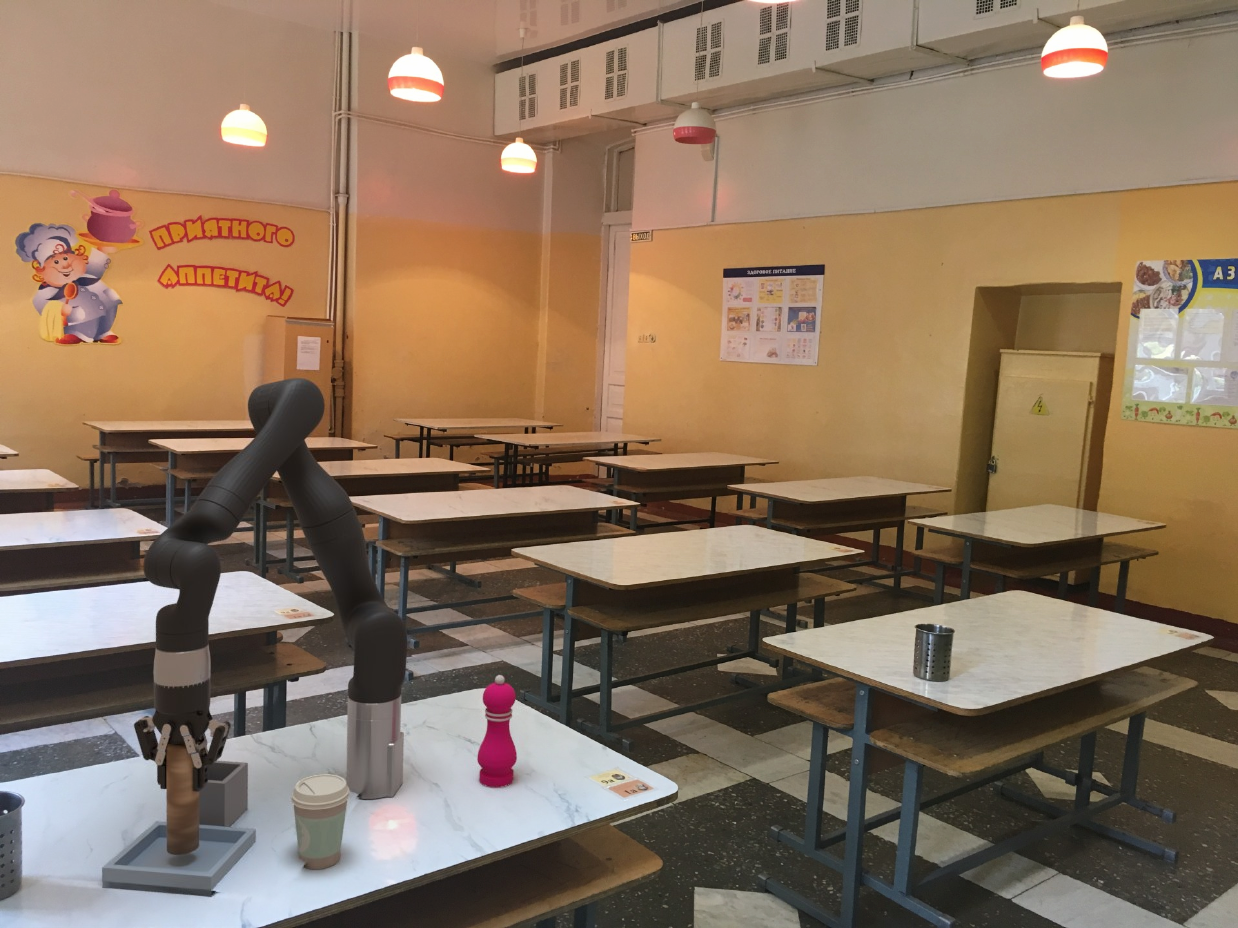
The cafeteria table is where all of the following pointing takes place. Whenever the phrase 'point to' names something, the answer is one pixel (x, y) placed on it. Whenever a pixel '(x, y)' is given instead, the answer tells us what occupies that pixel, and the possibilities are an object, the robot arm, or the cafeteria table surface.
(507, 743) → the pepper mill
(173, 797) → the walnut peg
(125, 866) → the tray
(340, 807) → the coffee cup
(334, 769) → the cafeteria table surface
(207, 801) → the grey square frame
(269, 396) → the robot arm
